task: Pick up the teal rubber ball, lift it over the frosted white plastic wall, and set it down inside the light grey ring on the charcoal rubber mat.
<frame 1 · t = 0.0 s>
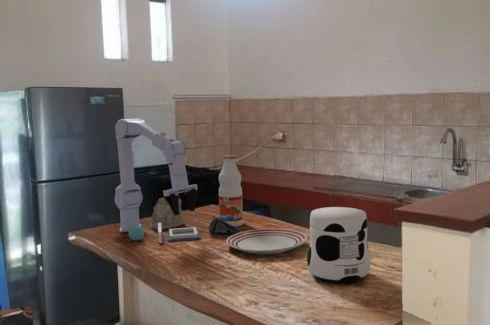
hand: (184, 213, 173), 11 cm above the table, fingers open, 7 cm apart
jagged rock: (164, 224, 203), on the table
fruit juice: (231, 225, 198), on the table
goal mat: (183, 236, 183), on the table
dinner plate: (266, 247, 167), on the table
chocolate cake: (226, 235, 184), on the table
milk container: (338, 276, 137), on the table
ball: (136, 233, 178), point 3 cm above the table
wall: (160, 237, 181), on the table
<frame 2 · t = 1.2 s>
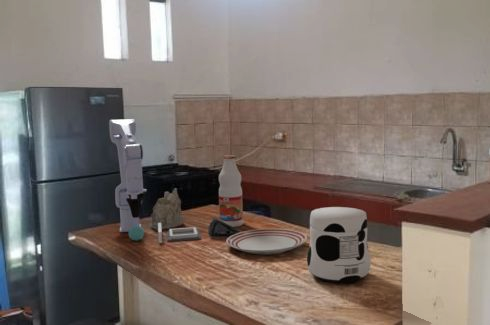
hand: (136, 215, 177), 9 cm above the table, fingers open, 7 cm apart
chocolate cake: (225, 236, 183), on the table
everything else where it was.
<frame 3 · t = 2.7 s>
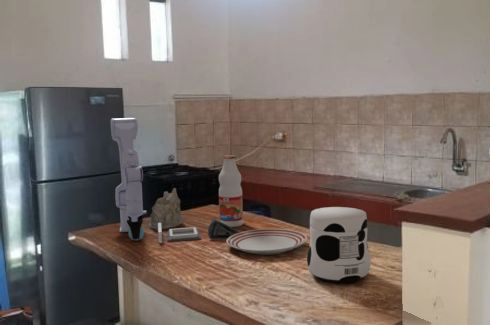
hand: (136, 236, 179), 1 cm above the table, fingers closed on ball, 5 cm apart
chocolate cake: (225, 237, 181), on the table
ball: (136, 233, 178), point 3 cm above the table, touching gripper
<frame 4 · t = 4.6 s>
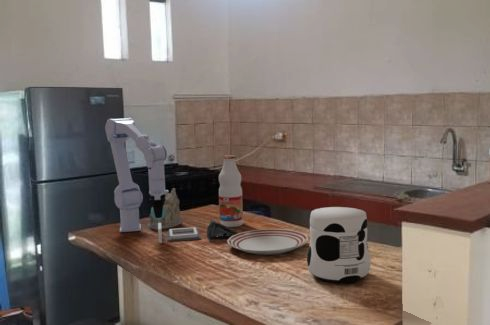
hand: (158, 215, 180), 8 cm above the table, fingers closed on ball, 5 cm apart
chocolate cake: (223, 238, 179), on the table
ball: (158, 212, 179), point 10 cm above the table, touching gripper
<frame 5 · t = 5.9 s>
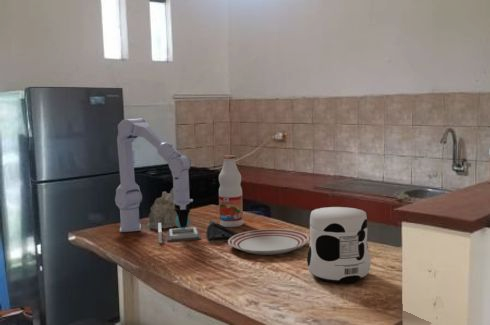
hand: (182, 224, 182), 4 cm above the table, fingers closed on ball, 5 cm apart
dinner plate: (268, 247, 166), on the table, touching chocolate cake
chocolate cake: (222, 239, 178), on the table, touching dinner plate
ball: (182, 221, 182), point 6 cm above the table, touching gripper
when the fingers open (3 cm above the table, at t = 7.0 s): ball drops 1 cm, resting on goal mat.
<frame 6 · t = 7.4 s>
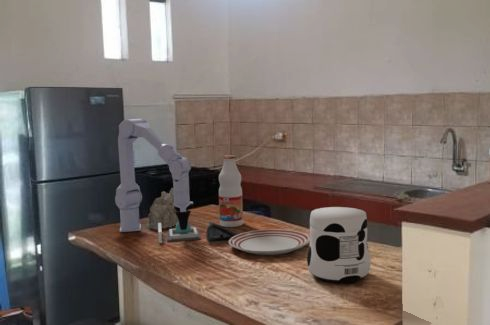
hand: (183, 226, 182), 4 cm above the table, fingers open, 7 cm apart
dinner plate: (269, 248, 166), on the table
chocolate cake: (221, 240, 177), on the table
ball: (183, 227, 182), point 3 cm above the table, touching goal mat
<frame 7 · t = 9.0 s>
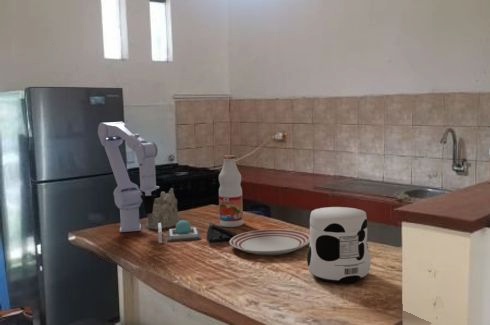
hand: (149, 211, 183), 9 cm above the table, fingers open, 7 cm apart
chocolate cake: (220, 241, 176), on the table
ball: (183, 227, 182), point 3 cm above the table, tilted 13°, touching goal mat
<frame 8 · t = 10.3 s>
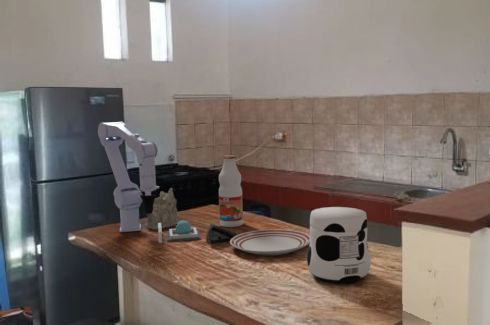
hand: (149, 211, 183), 9 cm above the table, fingers open, 7 cm apart
ball: (183, 228, 181), point 3 cm above the table, tilted 22°, touching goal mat
at the end: ball 1.1 cm off-centre on the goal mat, point 3.3 cm above the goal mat's base; the gripper is holding nothing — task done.
